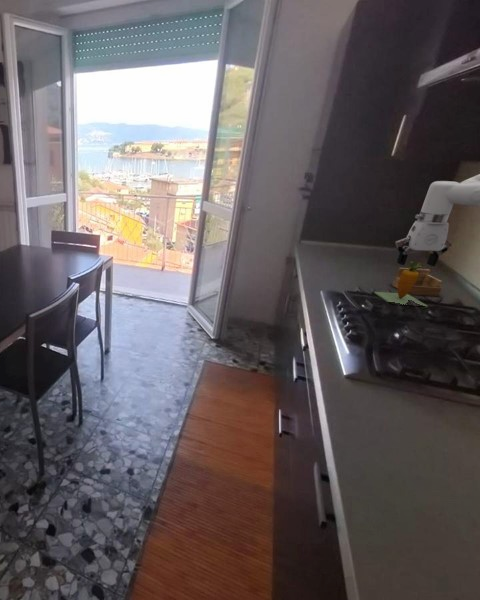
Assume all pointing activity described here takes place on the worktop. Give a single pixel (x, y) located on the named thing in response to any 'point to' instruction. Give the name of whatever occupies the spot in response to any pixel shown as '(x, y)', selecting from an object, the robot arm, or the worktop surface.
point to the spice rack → (421, 283)
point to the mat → (397, 298)
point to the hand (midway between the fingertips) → (415, 264)
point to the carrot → (407, 280)
